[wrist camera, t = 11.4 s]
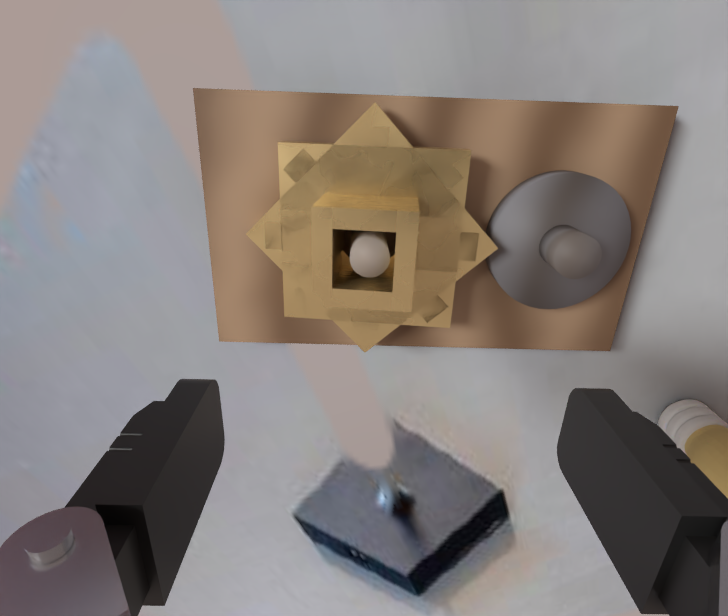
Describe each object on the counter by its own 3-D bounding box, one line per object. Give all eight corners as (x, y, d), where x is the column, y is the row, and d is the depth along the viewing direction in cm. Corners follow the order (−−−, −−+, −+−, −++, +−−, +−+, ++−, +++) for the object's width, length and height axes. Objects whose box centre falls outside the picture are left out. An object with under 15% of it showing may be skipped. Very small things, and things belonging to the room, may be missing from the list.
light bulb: (714, 442, 36) (834, 555, 27) (632, 452, 37) (724, 567, 27) (727, 374, 34) (866, 473, 25) (639, 385, 34) (743, 486, 25)
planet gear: (514, 107, 23) (540, 106, 19) (477, 351, 29) (490, 396, 24) (243, 97, 24) (205, 94, 20) (258, 335, 30) (231, 376, 25)
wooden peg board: (656, 106, 26) (752, 105, 20) (595, 337, 32) (654, 393, 26) (204, 90, 26) (153, 82, 19) (227, 327, 32) (194, 383, 25)
